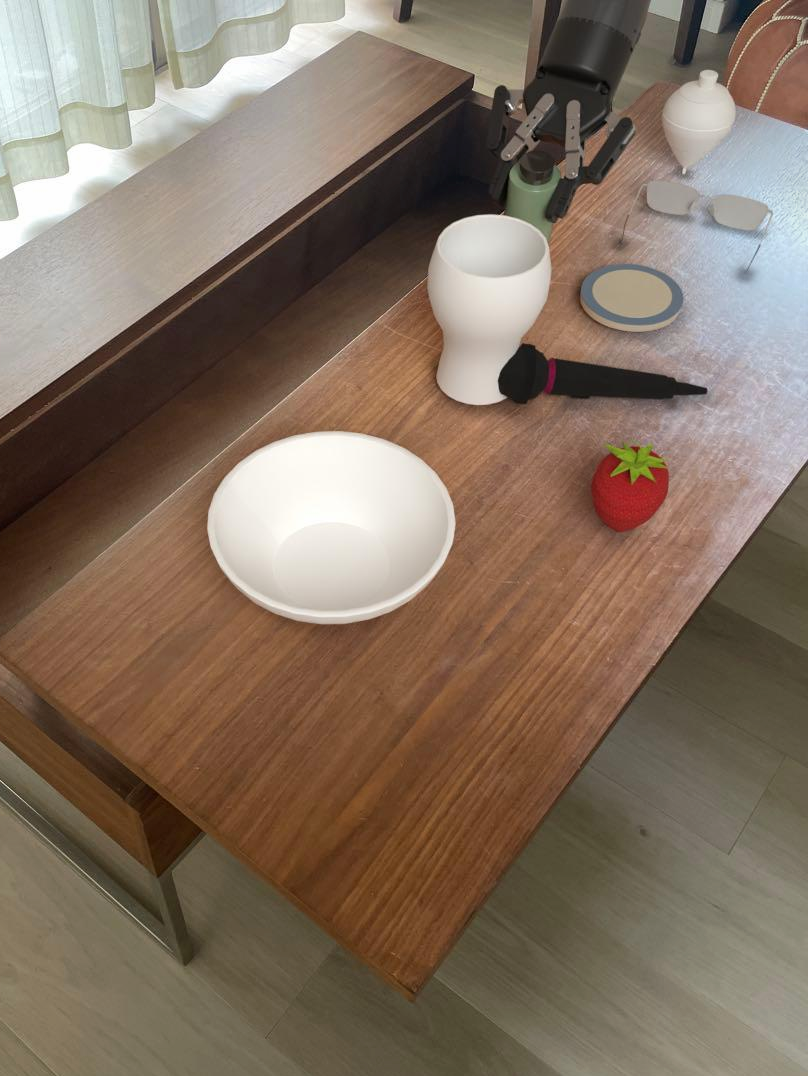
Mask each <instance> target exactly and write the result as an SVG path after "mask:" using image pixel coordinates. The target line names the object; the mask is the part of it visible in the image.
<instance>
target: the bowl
mask: <svg viewBox="0 0 808 1076" xmlns="http://www.w3.org/2000/svg"><path fill="white" fill-rule="evenodd" d="M207 513H208V514H207V528H206V530H207V535H208V540H209V545H210V549H211V551H212V553H213V555H214V557H215V559H216V562H217V564H218V566H219V568H220V569H221V571H222V572H223V573H224V575H225V576H226V577H227V578H228V580H229V581H230V582H231V584H233V586H234V587H235V588H236V589H237V590H238V591H239V592H240V593H241V594H242V595H244V596H245V597H247V599H249V600H250V601H251V602H253V603H254V604H256V605H257V606H259V607H261V608H263V609H265V610H266V611H269V612H270V613H273V614H274V615H278V616H281V617H284V618H287V619H290V620H293V621H296V622H302V623H310V624H317V625H347V624H352V623H357V622H363V621H368V620H369V621H370V620H371V619H374V618H377V617H380V616H384V615H385V614H388V613H392V612H393V611H395V610H397V609H398V608H400V607H402V606H403V605H405V604H407V603H409V602H410V601H412V600H413V599H414V598H415V597H416V596H417V595H419V594H420V593H421V592H422V591H424V589H426V588H427V587H428V586H429V584H430V583H431V582H432V581H433V579H434V578H435V577H436V575H437V574H438V573H439V572H440V570H441V569H442V567H443V566H444V564H445V561H446V560H447V557H448V555H449V552H450V550H451V548H452V546H453V544H454V539H455V538H454V537H455V531H456V515H455V507H454V504H453V501H452V498H451V496H450V493H449V491H448V488H447V486H446V485H445V484H444V482H443V481H442V480H441V478H440V476H439V475H438V474H437V472H436V471H434V469H433V468H432V467H431V466H429V464H427V463H426V462H425V461H424V459H422V458H421V457H419V456H418V455H416V454H414V453H413V452H412V451H409V450H408V449H407V448H405V447H403V446H400V445H398V444H396V443H394V442H391V441H389V440H387V439H385V438H381V437H377V436H373V435H369V434H366V433H361V432H352V431H343V430H330V431H329V430H328V431H327V430H326V431H313V432H312V431H311V432H307V433H301V434H294V435H292V436H288V437H285V438H281V439H279V440H275V441H273V442H271V443H269V444H266V445H265V446H263V447H261V448H259V449H256V450H254V451H253V452H252V453H250V454H249V455H247V456H246V457H245V458H243V459H242V460H241V461H239V462H238V463H237V464H236V465H235V466H234V467H233V468H232V469H231V470H230V471H229V472H228V473H227V474H226V475H225V476H224V477H223V479H222V481H221V482H220V484H219V485H218V487H217V489H216V490H215V492H214V493H213V497H212V499H211V503H210V506H209V508H208V512H207Z"/></svg>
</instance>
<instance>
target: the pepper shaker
mask: <svg viewBox="0 0 808 1076" xmlns="http://www.w3.org/2000/svg"><path fill="white" fill-rule="evenodd" d="M562 175H563V174H562V171H561V169H560V168H559V166H557V164H556V159H555V157H554V156H553V154H551V153H550V152H548V151H544V150H538V149H537V150H536V149H535V150H532V151H529V152H527V153H525V154H524V155H523V156H522V157H521V159H520V162H518V163H517V164H515V165H514V166H513V167H512V168H511V170H510V173H509V181H508V188H507V195H506V200H505V203H504V211H503V215H504V216H509V217H513V218H517V219H520V220H523V221H525V222H527V223H529V224H531V225H533V226H534V227H535V228H537V229H538V230H540V232H541V233H542V234H543V235H544V237H545V238H546V240H547V243H548V246H549V247H550V244H551V239H552V233H553V227H554V223H551V222H548V221H547V220H546V218H545V214H546V211H547V209H548V206H549V204H550V202H551V199H552V197H553V194H554V192H555V189H556V187H557V184H558V182H559V180H560V178H562V179H563V176H562Z"/></svg>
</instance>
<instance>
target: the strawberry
mask: <svg viewBox="0 0 808 1076" xmlns="http://www.w3.org/2000/svg"><path fill="white" fill-rule="evenodd" d="M631 440H632V441H633V442H634V443H635V444H636V445H637V446H635V445H632V446H629V445H628V444H627V443H626V442H624V441H621V445H622V447H621V448H619V447H616V446H613V445H609V444H607V443H604V447H605V448H606V449H607V450H608V451H610V453H608V454H607V455H606V456H604V457H603V459H601V461H600V462H599V463H598V465H597V467H596V469H595V471H594V473H593V475H592V479H591V482H590V492H591V499H592V506H593V509H594V511H595V513H596V514H597V516H598V517H599V518H600V519H601V520H602V522H603V523H605V525H606V526H607V527H609V528H610V529H612V530H613V531H615V532H616V533H624V532H628V531H632V530H634V529H636V528H638V527H640V526H642V525H644V524H645V523H647V522H648V521H650V520H651V519H652V518H653V516H655V514H656V513H657V512H658V511H659V510H660V508H661V507H662V505H663V504H664V503H665V500H666V498H667V496H668V494H669V484H670V474H669V473H670V472H669V467H668V466H667V464H666V462H667V461H668V460H667V459H662V457H661V456H659V454H657V453H656V452H654V451H653V450H652V449H653V448H654V445H655V444H656V443H655V442H653V443H650V444H648V445H645V446H644V447H642V446H641V445H640V443H638V442H637V441H636V440H635V439H634V438H631Z"/></svg>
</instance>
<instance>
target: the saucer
mask: <svg viewBox="0 0 808 1076" xmlns="http://www.w3.org/2000/svg"><path fill="white" fill-rule="evenodd" d="M580 287H581V288H580V291H579V303H580V305H581V307H582V309H583V310H584V312H585V313H586V314H587V315H588V316H589V317H590V318H591V319H593V320H594V321H596V322H597V323H599V324H601V325H603V326H605V327H608V328H611V329H614V330H617V331H623V332H630V333H643V332H644V333H645V332H651V331H655V330H659V329H663V328H665V327H667V326H668V325H670V324H672V322H674V321H675V320H676V319H677V318H678V317H679V315H680V313H681V311H682V308H683V304H684V294H683V290H682V288H681V287H680V285H679V284H678V283H677V282H676V280H674V279H673V278H672V277H671V276H669V275H668V274H666V273H664V272H663V271H660V270H658V269H655V268H653V267H649V266H645V265H641V264H634V263H617V264H610V265H606V266H602V267H600V268H598V269H595V270H593V271H592V272H590V273H589V274H588V275H587V276H586V277H585V278H584V280H583V281H582V284H581V286H580Z"/></svg>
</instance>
